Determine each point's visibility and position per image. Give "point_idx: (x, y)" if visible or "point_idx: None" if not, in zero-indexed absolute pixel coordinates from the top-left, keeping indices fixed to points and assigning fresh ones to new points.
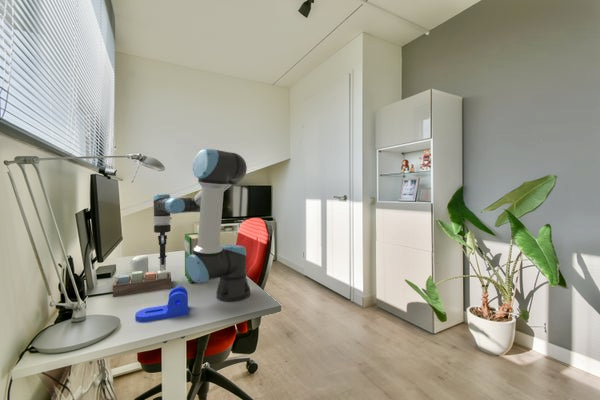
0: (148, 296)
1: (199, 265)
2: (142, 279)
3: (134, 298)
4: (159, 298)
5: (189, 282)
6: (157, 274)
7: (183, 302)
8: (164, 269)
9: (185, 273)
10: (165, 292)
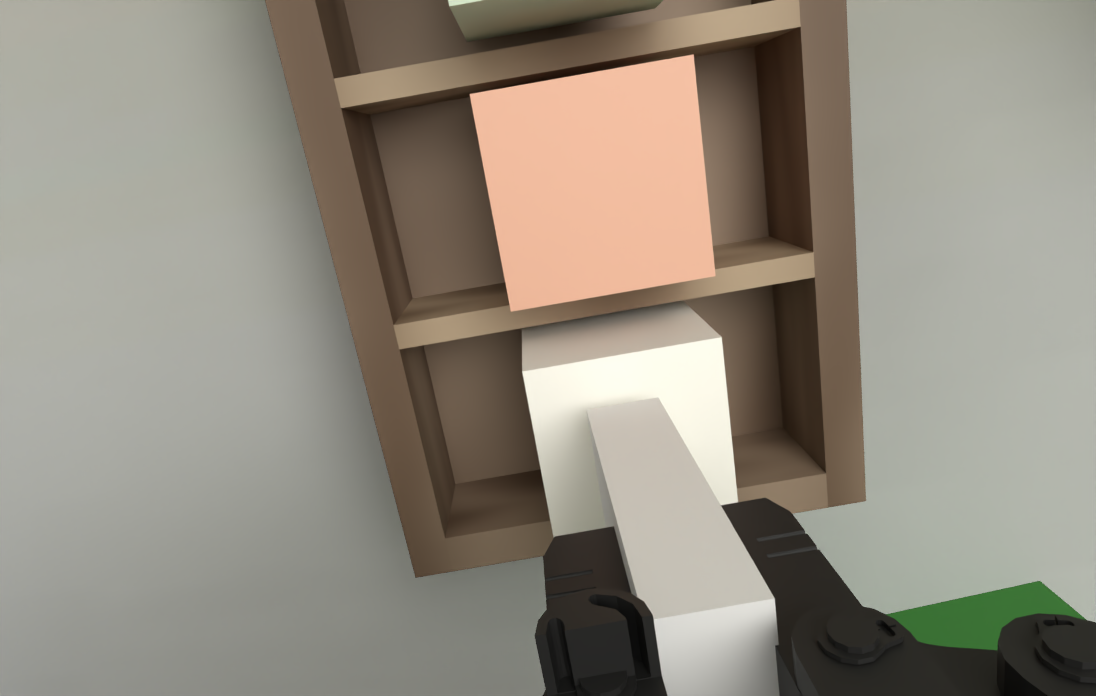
0: (126, 238)
1: None
2: (569, 22)
3: (64, 39)
4: (18, 405)
5: None
6: (811, 278)
7: None
8: (605, 515)
9: (1004, 622)
10: (260, 440)
